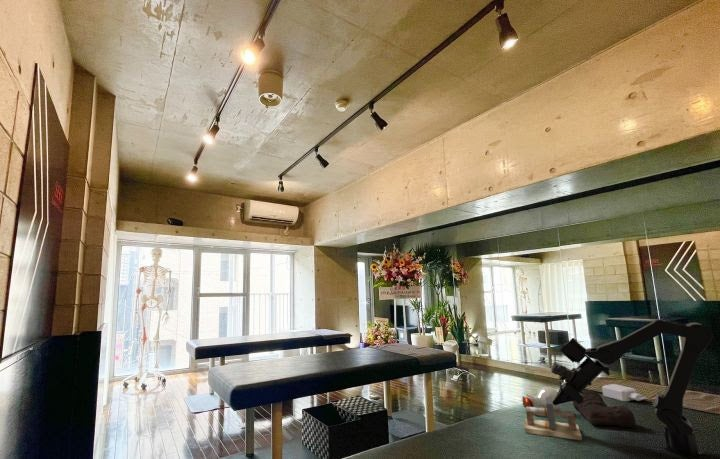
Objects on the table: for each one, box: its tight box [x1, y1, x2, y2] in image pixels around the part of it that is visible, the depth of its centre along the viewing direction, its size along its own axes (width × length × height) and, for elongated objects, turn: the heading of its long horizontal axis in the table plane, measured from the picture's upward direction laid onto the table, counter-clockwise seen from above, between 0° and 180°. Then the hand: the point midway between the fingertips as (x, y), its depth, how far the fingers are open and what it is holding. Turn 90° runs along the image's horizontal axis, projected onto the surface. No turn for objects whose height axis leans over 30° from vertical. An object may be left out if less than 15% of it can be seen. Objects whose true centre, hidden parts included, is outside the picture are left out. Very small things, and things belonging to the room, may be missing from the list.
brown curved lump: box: [572, 389, 636, 429], centre depth 128 cm, size 10×15×15 cm
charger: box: [602, 383, 647, 402], centre depth 152 cm, size 5×9×15 cm
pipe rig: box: [524, 407, 583, 441], centre depth 121 cm, size 17×10×7 cm, turn 64°
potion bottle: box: [522, 386, 563, 410], centre depth 141 cm, size 9×10×15 cm
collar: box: [546, 397, 556, 429], centre depth 122 cm, size 2×8×8 cm, turn 153°
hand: (553, 403), depth 122 cm, fingers closed, pressing on collar
